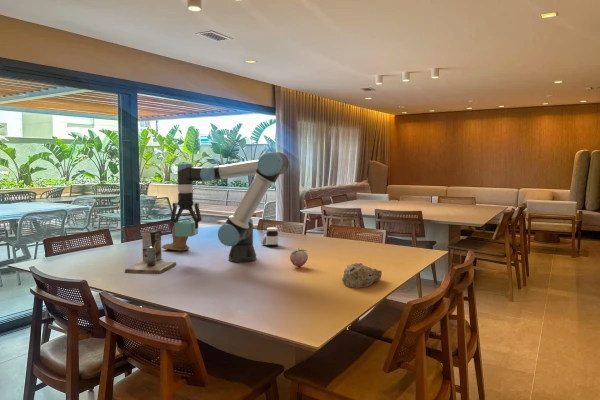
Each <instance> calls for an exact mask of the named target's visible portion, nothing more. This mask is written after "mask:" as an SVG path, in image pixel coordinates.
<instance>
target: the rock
mask: <svg viewBox="0 0 600 400" xmlns="http://www.w3.org/2000/svg"><path fill="white" fill-rule="evenodd" d="M343 272H344V273H343V277H342V279H341V280H342V284H344V285H345V286H346V287H348V288H353V287H354V288H356V289H360V288H366V287H369V286H371V285H372V284H373V283H375V282H377V281H380V280H381V277H382V270H379V269H377V268H372V267H370V266H367V265H363V263H358V262H355V263H351V264H348V265H346V267H345V268H344V271H343Z"/></svg>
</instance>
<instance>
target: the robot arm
mask: <svg viewBox="0 0 600 400" xmlns="http://www.w3.org/2000/svg"><path fill="white" fill-rule="evenodd" d="M289 160H290V159H289V158H288V157H287V155H286V154H284V153H282V152H276V151H272V150H271V151H266V152H264V153H263V154H260V156H259V158H258V159H255V160H254V159H253V160H248V161H242V162H235V163H234V162H233V163H229V164H222V165H216V166H193V164H192V163H190V162H189V163H188V162H187V163H184V162H183V163H181V162H180V163H177V171H176V172H177V173H176V174H177V192H178V193H177V202H173V203H172V211H171V217H170V222H173V223H174V224H173V225H174V226H173V227H174V228H175V223H176V222H179V221H180V220H179V219H180V218H181V215H182V213H183V211H184V210H185V211H188V212H189V213H190V215H191V217H192V219H193V220H192V221H195V222H194V223H193V227H194V236H196V235H198V234H197V228H198V229H199V222H202V220H203V218H202V215H201V211H200V208H199V207H200V203H199V202H194V195H193V194H194V193H193V189H194V188H193V187H194V186H193V182H212V181H220V180H224V179H225V180H226V179H232V178H239V177H247V176H254V175H255V177H253V180H251V181H252V182H251V183H250V185H249V186H248V188H247V190H246V192H245V194H244V196H243V197H242V198H241V201H240V203H239V204H238V206H237V207H236V210H235V212H234V213H233V214H232V215H229V216H228V217H227V219H226V221H225V223H224V224H221V226H220V227H219V228H218V230H217V238H218V240H219V242H220V243H221V244H222V245H223V246H225V247H226V246H227V247H230V250H229V253H228V261H230V262H234V263H246V262H247V263H248V262H254V261H256V260H257V254H256V250H255V247H254V222H253V219H252V217H253V215H254V213H255V212H256V210H257V209H258V207H259V205H260V203H261V202H262V200H263V198H264V196H265V195H266V193H267V191H268V190H269V188H270V186H271V185H272V184H275V183H276V181H277V179H278V178H279V177H280V175H283V174H285V173H286V172H287V171H288V169H289V167H290V161H289ZM193 206H194V208H193ZM178 207H179V209H178ZM177 209H178V211H177ZM194 210H195V211H194Z"/></svg>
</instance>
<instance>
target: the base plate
mask: <svg viewBox="0 0 600 400" xmlns="http://www.w3.org/2000/svg"><path fill="white" fill-rule="evenodd" d="M176 265H177V262H176V261H164V260H163V261H161V260H160V261H159V260H157V261H156V265H155V266H147V261H143V260H142V261H140V262H138V263H136V264H134V265H131V266H129V267H127V268H125V269H124V272H125V273H134V274H135V273H138V274H139V273H140V274H163V273H164V272H165V271H168V270H169V269H171V268H172V267H173V268H174V267H175V266H176Z"/></svg>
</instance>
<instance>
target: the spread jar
mask: <svg viewBox="0 0 600 400" xmlns="http://www.w3.org/2000/svg"><path fill="white" fill-rule="evenodd" d="M260 243H261V245H263V246H265V245H266V247H268V248H275V247H278V246H279V230H278V227H275V226H273V227H272V226H271V227H267V228H266V234H264V235H263V236H262V237H261V240H260Z"/></svg>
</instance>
